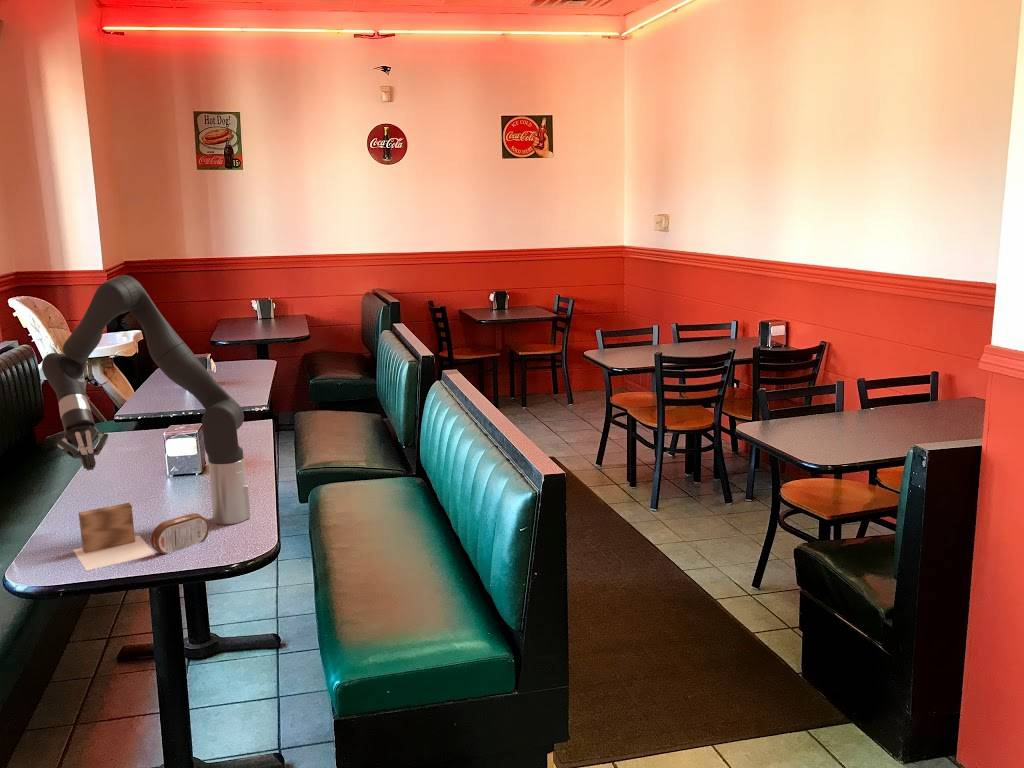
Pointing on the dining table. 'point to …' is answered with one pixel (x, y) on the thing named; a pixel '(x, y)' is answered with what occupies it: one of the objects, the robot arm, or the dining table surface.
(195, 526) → the tin
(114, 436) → the dining table surface
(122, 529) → the plaque
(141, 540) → the placemat
